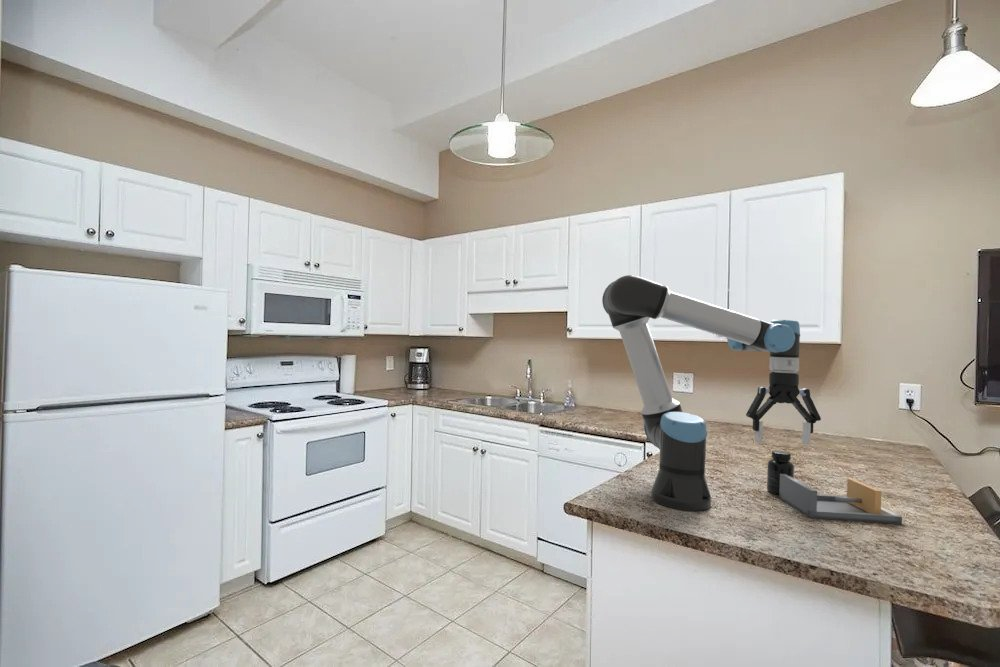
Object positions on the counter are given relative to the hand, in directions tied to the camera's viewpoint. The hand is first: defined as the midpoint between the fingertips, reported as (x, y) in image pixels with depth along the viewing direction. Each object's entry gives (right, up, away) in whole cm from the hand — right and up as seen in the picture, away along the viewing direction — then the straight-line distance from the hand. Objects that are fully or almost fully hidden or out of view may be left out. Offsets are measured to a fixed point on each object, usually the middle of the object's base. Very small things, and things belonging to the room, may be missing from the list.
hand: (782, 443), depth 139 cm
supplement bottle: (-1, -15, 0) cm, 15 cm away
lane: (+6, -15, -14) cm, 21 cm away
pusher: (+10, -14, -14) cm, 22 cm away
